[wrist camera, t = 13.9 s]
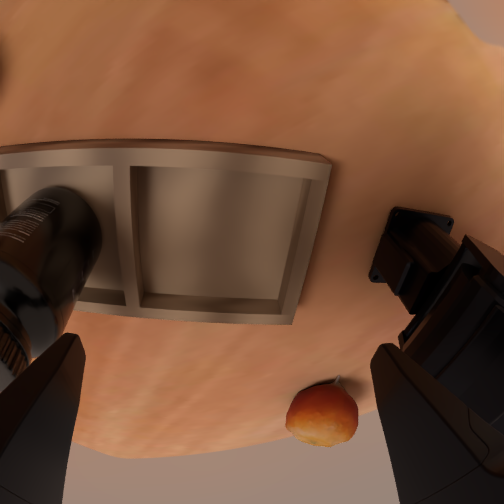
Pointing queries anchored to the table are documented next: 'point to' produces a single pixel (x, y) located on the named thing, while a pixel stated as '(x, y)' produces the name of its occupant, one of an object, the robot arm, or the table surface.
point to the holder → (184, 223)
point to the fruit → (323, 415)
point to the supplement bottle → (42, 273)
